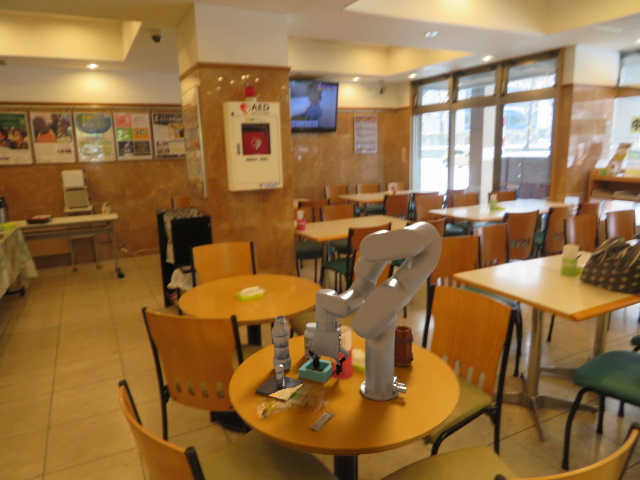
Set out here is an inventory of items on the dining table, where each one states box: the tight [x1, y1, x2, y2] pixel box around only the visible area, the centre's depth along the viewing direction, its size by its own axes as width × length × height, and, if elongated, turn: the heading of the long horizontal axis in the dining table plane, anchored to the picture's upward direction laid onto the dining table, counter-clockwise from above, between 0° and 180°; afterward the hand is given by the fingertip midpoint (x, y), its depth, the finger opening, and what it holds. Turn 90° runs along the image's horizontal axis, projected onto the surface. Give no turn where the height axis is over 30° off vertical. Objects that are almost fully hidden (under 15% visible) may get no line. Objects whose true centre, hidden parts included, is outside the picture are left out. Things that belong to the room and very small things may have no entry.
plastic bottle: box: [271, 315, 292, 371], centre depth 160 cm, size 6×7×20 cm
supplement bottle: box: [303, 322, 322, 359], centre depth 170 cm, size 7×7×13 cm
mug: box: [394, 324, 415, 367], centre depth 163 cm, size 15×8×15 cm, turn 49°
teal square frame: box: [298, 357, 333, 384], centre depth 157 cm, size 10×10×3 cm
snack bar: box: [309, 410, 335, 433], centre depth 129 cm, size 10×2×3 cm
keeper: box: [255, 364, 305, 397], centre depth 147 cm, size 12×12×9 cm
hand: (327, 370), depth 155 cm, fingers open, 8 cm apart
